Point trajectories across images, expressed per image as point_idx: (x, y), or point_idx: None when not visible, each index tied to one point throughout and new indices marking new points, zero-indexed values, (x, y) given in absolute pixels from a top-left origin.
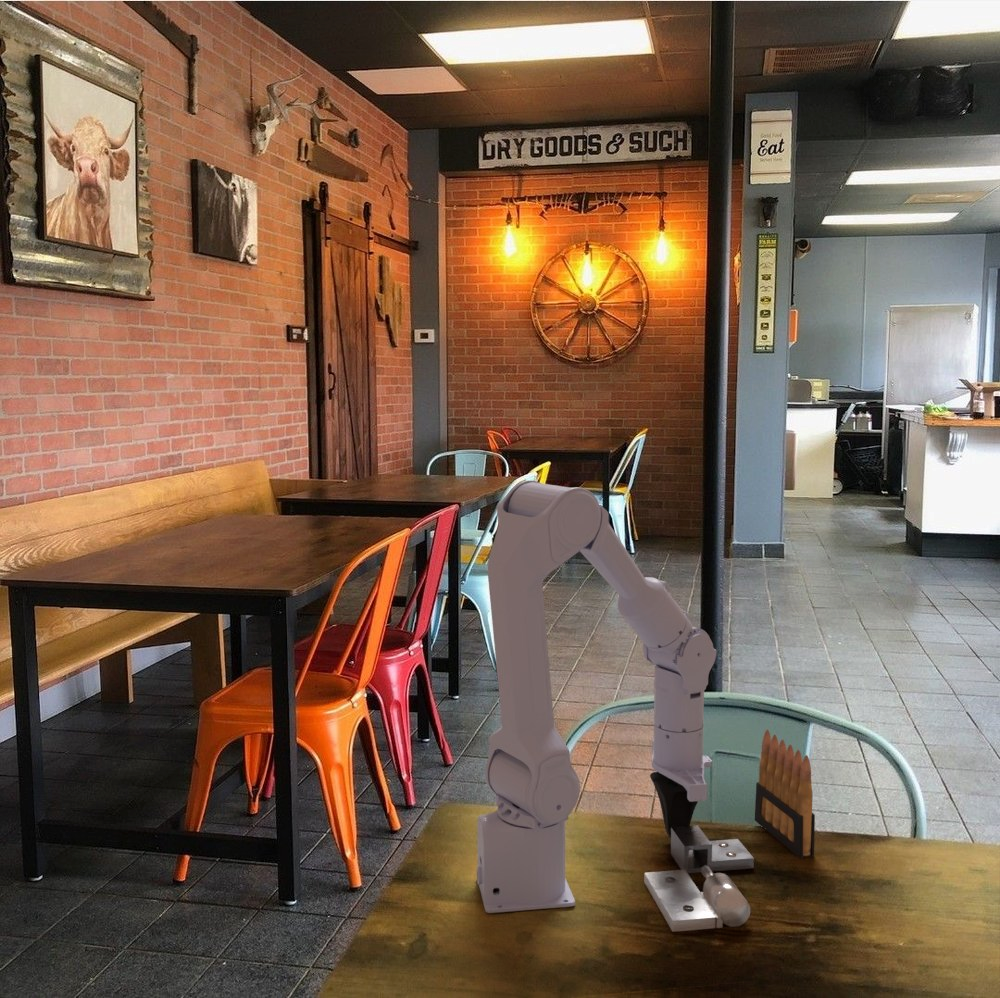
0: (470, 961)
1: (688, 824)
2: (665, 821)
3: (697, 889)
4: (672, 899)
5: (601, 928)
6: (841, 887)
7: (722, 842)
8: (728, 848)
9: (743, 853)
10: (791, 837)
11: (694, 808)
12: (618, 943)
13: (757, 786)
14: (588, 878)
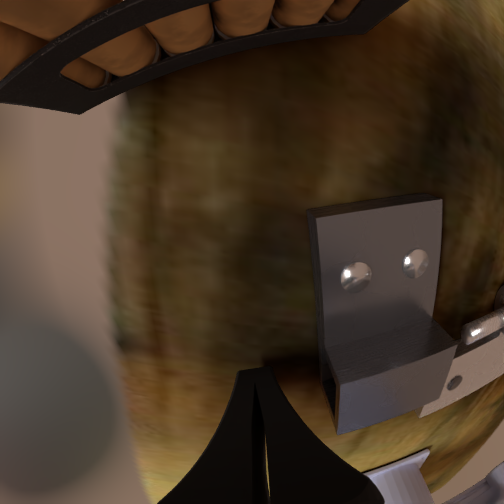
0: (454, 464)
1: (282, 391)
2: (264, 435)
3: (492, 340)
4: (492, 370)
5: (470, 416)
6: (476, 27)
7: (343, 279)
8: (382, 265)
9: (416, 223)
10: (319, 16)
11: (308, 429)
12: (495, 396)
13: (3, 94)
14: (370, 456)
